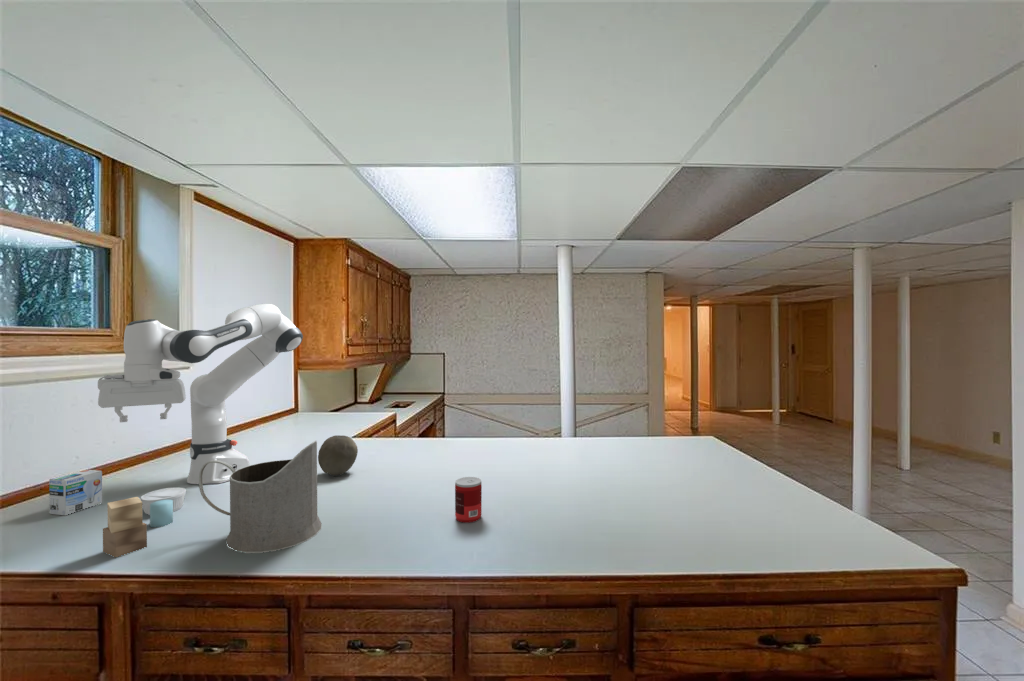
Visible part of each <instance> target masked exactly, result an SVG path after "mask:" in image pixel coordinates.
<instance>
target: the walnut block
mask: <svg viewBox="0 0 1024 681" xmlns="http://www.w3.org/2000/svg"><path fill="white" fill-rule="evenodd" d="M147 529H148V528H147V523H145V522H143V526H140V527H136V528H132V529H127V530H123V531H119V532H115V533H111V532H110V530H109V528H108V526H107V527H103V528H102V553H103V552H105V553H104V554H106V553H107V554H106V555H108V554H110V555H112V556H114V557H113V558H115V557H118V556H120V557H122V556H121V555H123V556H125V555H124V554H126V555H128V554H127V553H129V554H131V553H130V552H132V553H133V551H135V552H137V551H140V550H142V548H143V549H145V548H144V547H146V548H148V534H147V532H148V530H147ZM139 549H140V550H139ZM136 550H137V551H136ZM110 555H109V556H110ZM112 556H111V557H112ZM118 558H119V557H118Z"/></svg>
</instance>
